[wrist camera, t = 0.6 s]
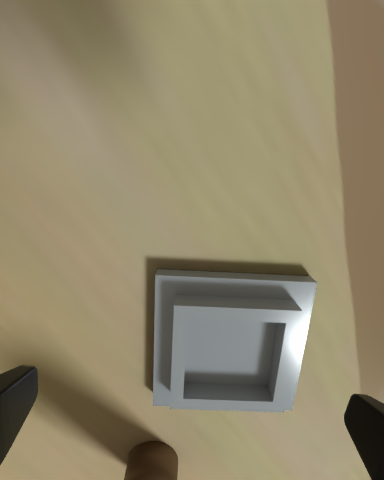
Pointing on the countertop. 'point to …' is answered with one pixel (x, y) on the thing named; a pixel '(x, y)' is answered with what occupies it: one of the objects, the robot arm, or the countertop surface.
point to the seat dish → (229, 339)
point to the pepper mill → (152, 462)
